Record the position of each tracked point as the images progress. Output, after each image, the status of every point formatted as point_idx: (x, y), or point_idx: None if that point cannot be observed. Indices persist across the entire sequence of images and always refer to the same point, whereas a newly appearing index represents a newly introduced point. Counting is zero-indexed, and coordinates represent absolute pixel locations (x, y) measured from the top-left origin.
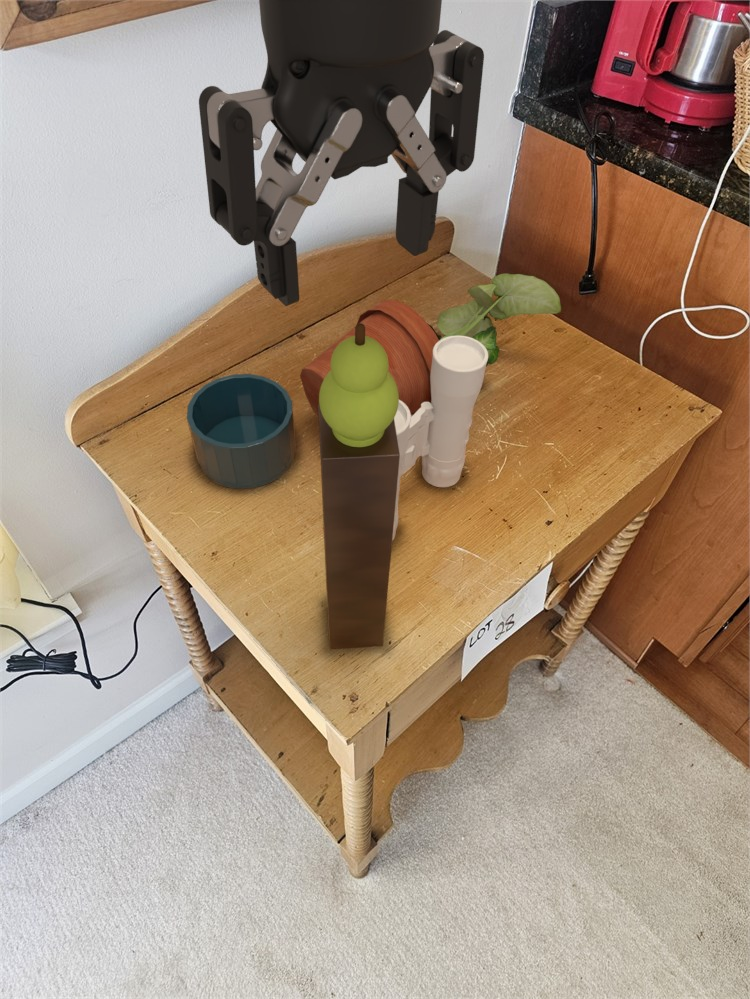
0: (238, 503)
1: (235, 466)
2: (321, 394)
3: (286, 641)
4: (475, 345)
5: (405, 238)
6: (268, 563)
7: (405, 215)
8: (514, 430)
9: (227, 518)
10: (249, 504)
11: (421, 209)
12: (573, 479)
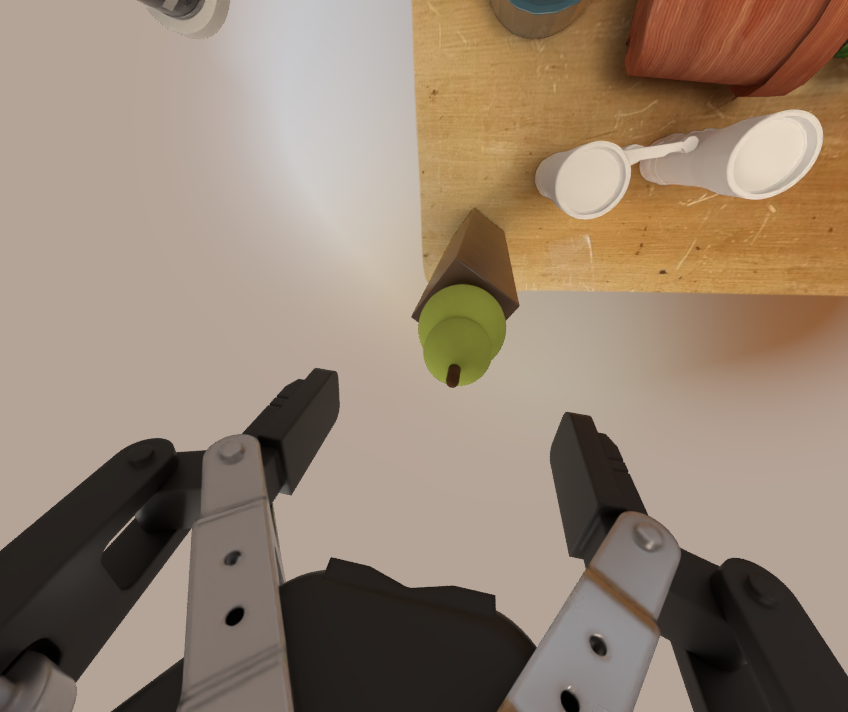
0: (486, 43)
1: (501, 8)
2: (423, 314)
3: (432, 213)
4: (809, 153)
5: (561, 441)
6: (463, 138)
7: (572, 468)
8: None
9: (466, 56)
10: (494, 54)
11: (564, 530)
12: (730, 256)
